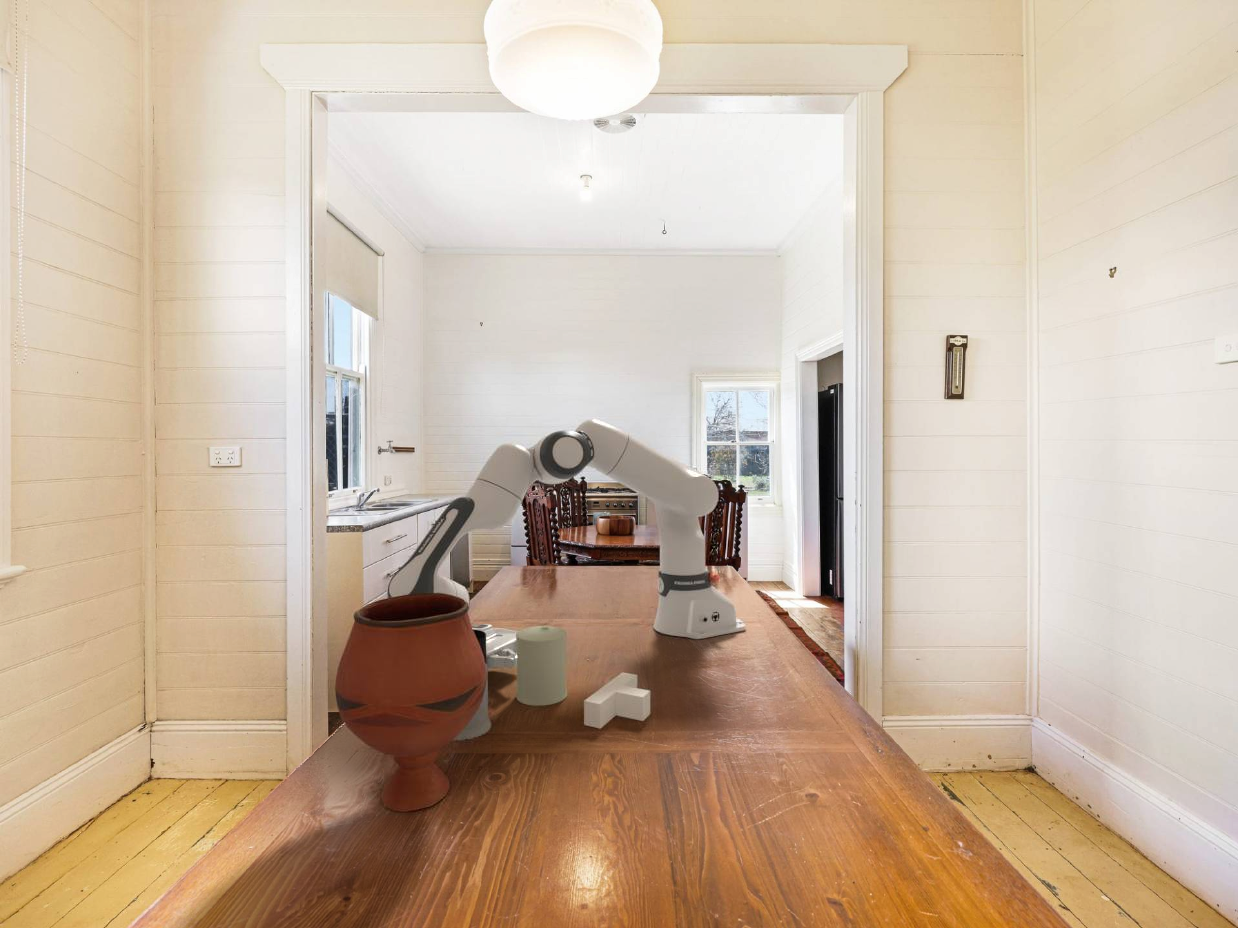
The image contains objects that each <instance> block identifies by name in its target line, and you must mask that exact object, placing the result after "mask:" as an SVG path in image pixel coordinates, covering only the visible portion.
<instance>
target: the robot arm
mask: <svg viewBox="0 0 1238 928" xmlns="http://www.w3.org/2000/svg"><path fill="white" fill-rule="evenodd" d="M586 467H589V468H592V469H595V470H596V471H599V472H600V473H601V474H603V475H604V476H607V477H609V478H610V479H612V480H613V481H615V482H617V483H619V484H621V485H622V486H624V487H626V488H628V489H630V490H631V491H633V492H635V493H638V494H639V495H642V496H644V497H645V498H647V499H649V500H652V501H653V505H654V511H655V518H656V523H657V529H658V534H659V535H658V537H659V570H658V575H657V576H658V577H657V590H658V604H657V612H656V615H655V620H654V624H653V629H654V630H655V631H656V632H659V633H660V634H664V635H669V636H672V637H673V636H676V637H684V638H689V639H693V640H701V639H707V638H712V637H716V636H721V635H727V634H733V633H737V632H743V631H746V623H745V622H744V621H742V619H740V618H738V617H737V614H736V609H735V605H734V603H733V601H732V600H731V599H730V598H729V597H727V596H726V595H725V594H723V593H722V592H721V591H719V590H718V589H717V588H716V587H715V586H713V584H712V583H719V581H720V579H721V577H720V576H719V574H716V573H715V572H713V573H710V572H709V571H708V570H707V569H706V540H705V539H706V538H705V535H704V534H703V531H702V529H701V525H700V519H699V518H700V517H704V516H707V515H709V514H710V513H712V512H713V511H714V510H715V508H716V506H717V504H718V501H719V489H718V487H717V484H716V483H715V482H714V481H713V480H712V479H711V478H710V477H709V476H707V475H705V474H703V473H702V472H700V471H698V470H696V469H694V468H692V467H690V466H689V465H687V464H685V463H682V462H680V461H679V460H677V459H674V458H673V457H670V456H668V455H666V454H664V453H661V452H660V451H658V450H655V449H654V448H653V447H650V446H649V445H647V444H646V443H644V442H642V441H640V440H639V439H637V438H635V437H633V435H630V434H629V433H626V432H625V431H624V430H621V429H619V428H617V427H615V426H613V425H611V424H608V423H606V422H604V421H601V420H597V419H594V418H592V419H591V418H590V419H586V420H585V421H583V422H581V423H580V424H578V426H577V428H576V429H575V430H558V431H553V432H552V433H549V434H548V435H546V436H544V437H542V438H540V440H538V441H537V443H535V444H534V445H532V446H531V447H530V448H527V447H524V446H522V445H521V444H518V443H511V442H507V443H503V444H501V445H499V446H498V447H497V448H496V449H495V450H494V451H493V452H492V454H491V456H489V458H488V459H487V461H486V462H485V464H484V465H483V467H482V469H481V470H480V472H479V474H478V475H477V477H476V478H475V481H474V482H473V484H472V486H471V487H470V489H468V491H466V493H465V494H464V495H463V496H462V497H458V498H456V499H454V500H453V501H452V502H450V503H449V505H448V506H446V508H445V509H444V510H443V512H441V514H440V516H439V517H438V518H437V520H435V523H434V524H433V525H432V526H431V528H430V529H429V531H428V533H427V534H426V535H425V536H424V538H423V539H422V540H421V542H420V543H419V545H418V547H416V549H415V551H414V552H413V553H412V555H411V556H410V557H409V558H408V559H407V561H406V562H404V564H402V566H401V567H400V568H399V569H398V570H397V571H396V572H395V573H394V574H393V575H392V577H391V579H390V581H389V583H388V586H387V590H386V591H387V592H386V595H387V598H391V597H397V596H402V595H408V594H418V593H444V594H449V595H453V596H457V597H460V598H462V599H463V600H464V601H465V602H467V603H468V610H467V612H468V613H469V610H470V604H471V598H470V594H469V591H468V590H467V588H466V587H465V586H464V585H462V584H461V583H458V582H456V581H454V580H453V579H450V578H449V577H445V576H443V575H441V574H440V573H439V570H440V568H441V566H442V565H443V563H444V562H445V561H446V559H447V558H448V557H449V554H450V553H451V552H452V551H453V549H454V548H455V546H456V544H457V543H458V541H459V540H460V539H461V538H463V536H464V535H466V534H468V533H471V532H474V531H494V530H498V529H501V528H504V527H505V526H507V525H508V524H509V523H511V522H512V520H513V519H514V518H515V516H516V514H517V513H518V510H519V509H520V506H521V505H522V503H523V500H524V498H525V496H526V493H527V492H528V490H529V488H530V487H531V485H532V484H537V485H542V486H554V485H555V486H556V485H558V484H563V483H566V482H567V481H569V480H571V479H573V478H575V477H576V476H578V475H579V474H580V473H582V471H584V469H585V468H586ZM472 628H473V629H474V630H480V631H483V632H485V633H486V655H487V664H488V671H490V670H492V669H494V670H495V669H501V668H502V669H503V668H507V669H513V668H515V667H517V641H516V633H517V632H518V631H517V630H511V629H507V628H502V627H498V628H497V627H493V625H492V624H489V623H482V624H478V625H472Z"/></svg>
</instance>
